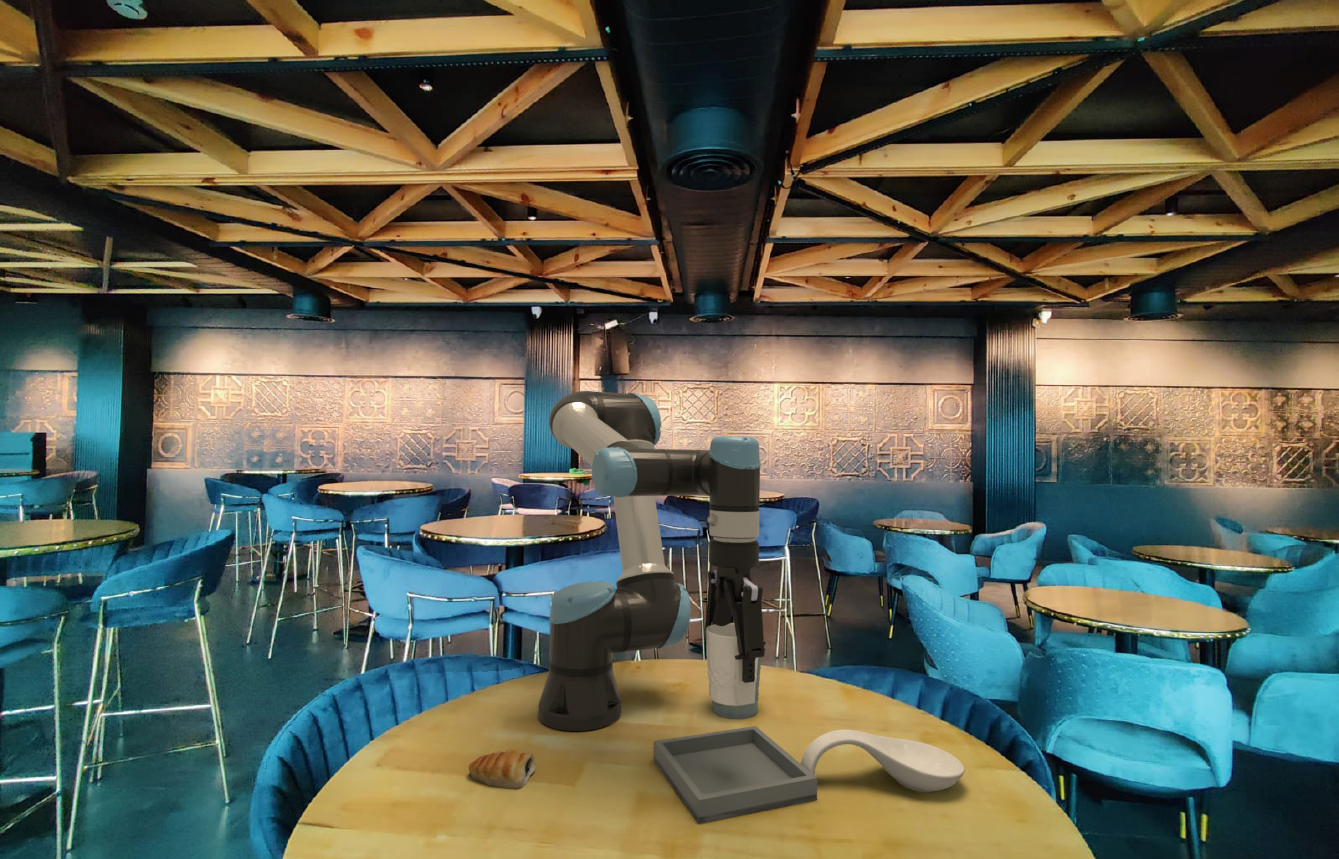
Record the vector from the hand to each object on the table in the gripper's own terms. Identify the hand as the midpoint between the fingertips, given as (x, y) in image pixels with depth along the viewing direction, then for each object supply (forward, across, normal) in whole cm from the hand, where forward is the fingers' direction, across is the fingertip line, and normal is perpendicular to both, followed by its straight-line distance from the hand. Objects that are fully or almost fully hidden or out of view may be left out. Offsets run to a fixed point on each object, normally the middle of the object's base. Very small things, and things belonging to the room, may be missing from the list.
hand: (732, 693), depth 94 cm
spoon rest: (+13, +8, +21) cm, 26 cm away
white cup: (+1, 0, 0) cm, 1 cm away
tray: (+13, 0, 0) cm, 13 cm away
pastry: (+13, -11, -31) cm, 36 cm away
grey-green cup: (+13, -23, +12) cm, 29 cm away
